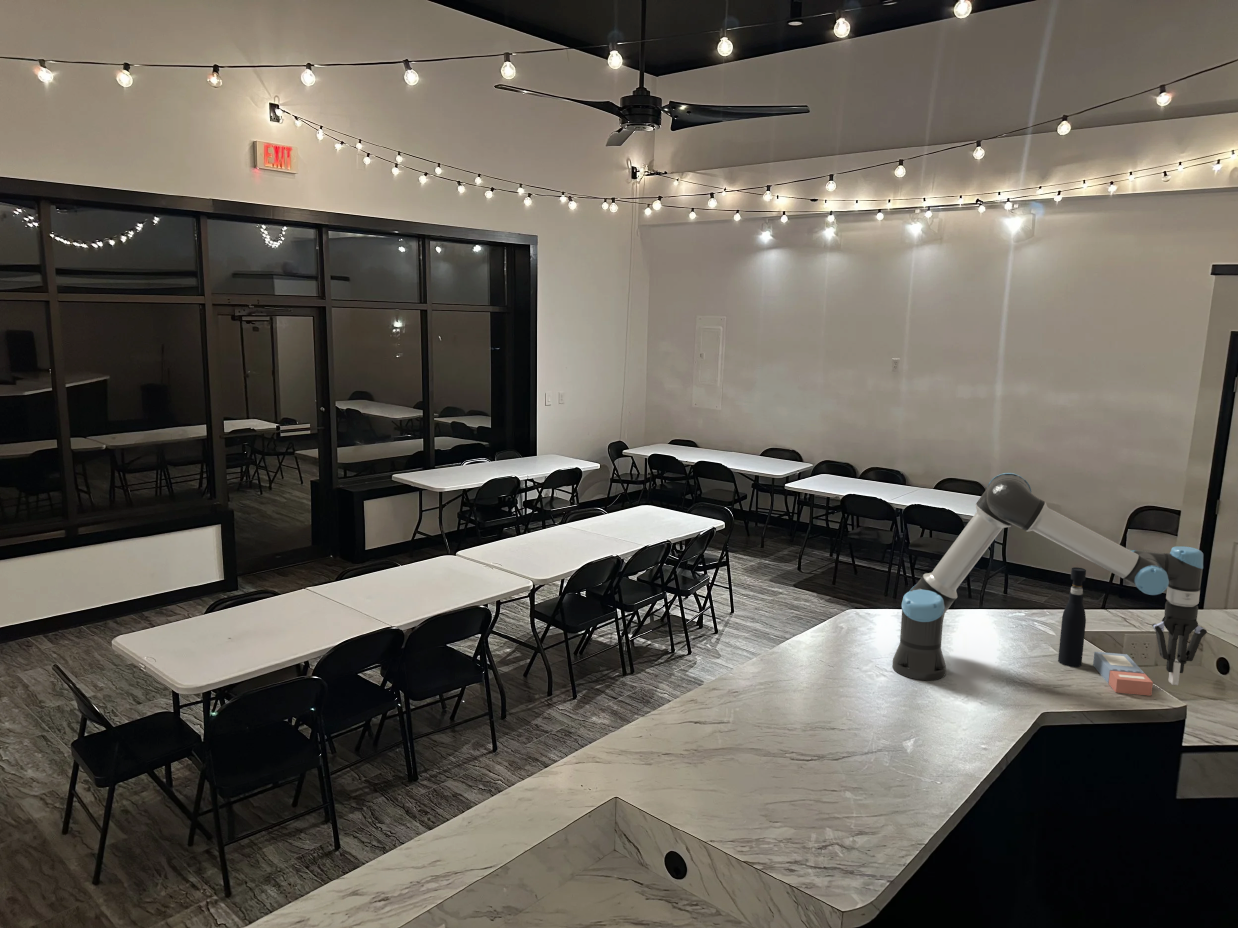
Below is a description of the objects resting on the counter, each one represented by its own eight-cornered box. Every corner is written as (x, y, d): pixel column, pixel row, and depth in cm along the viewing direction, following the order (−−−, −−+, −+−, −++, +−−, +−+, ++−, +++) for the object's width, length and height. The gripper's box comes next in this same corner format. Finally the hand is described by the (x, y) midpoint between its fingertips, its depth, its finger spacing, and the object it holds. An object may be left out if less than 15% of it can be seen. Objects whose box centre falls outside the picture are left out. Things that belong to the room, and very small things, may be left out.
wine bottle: (1085, 667, 251) (1095, 572, 246) (1064, 666, 251) (1073, 572, 246) (1074, 658, 257) (1083, 566, 252) (1054, 658, 257) (1062, 565, 253)
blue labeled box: (1108, 683, 239) (1109, 669, 239) (1092, 664, 253) (1094, 651, 252) (1142, 686, 237) (1144, 672, 237) (1125, 667, 251) (1127, 654, 250)
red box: (1115, 692, 233) (1117, 678, 233) (1108, 683, 239) (1110, 670, 238) (1151, 695, 231) (1152, 681, 230) (1143, 686, 237) (1144, 673, 236)
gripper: (1160, 605, 226) (1152, 686, 230) (1215, 608, 223) (1205, 690, 227) (1150, 596, 233) (1142, 675, 237) (1202, 599, 230) (1193, 679, 234)
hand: (1173, 682), depth 232 cm, fingers closed
